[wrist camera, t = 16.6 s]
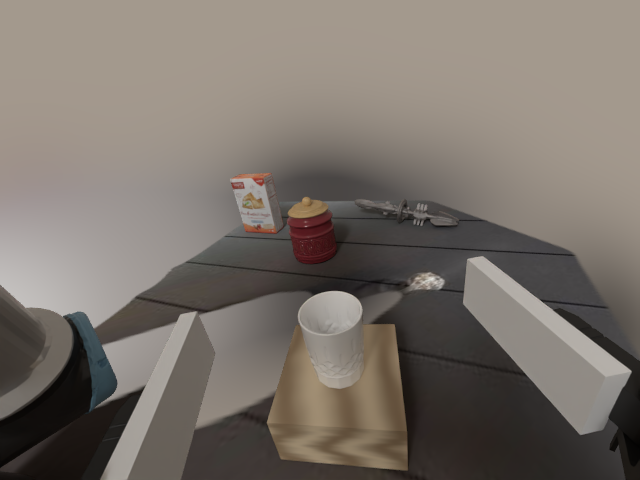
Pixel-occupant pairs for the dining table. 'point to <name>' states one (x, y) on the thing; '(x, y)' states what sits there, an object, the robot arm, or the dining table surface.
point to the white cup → (334, 337)
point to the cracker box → (257, 202)
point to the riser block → (343, 408)
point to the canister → (312, 231)
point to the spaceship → (409, 212)
